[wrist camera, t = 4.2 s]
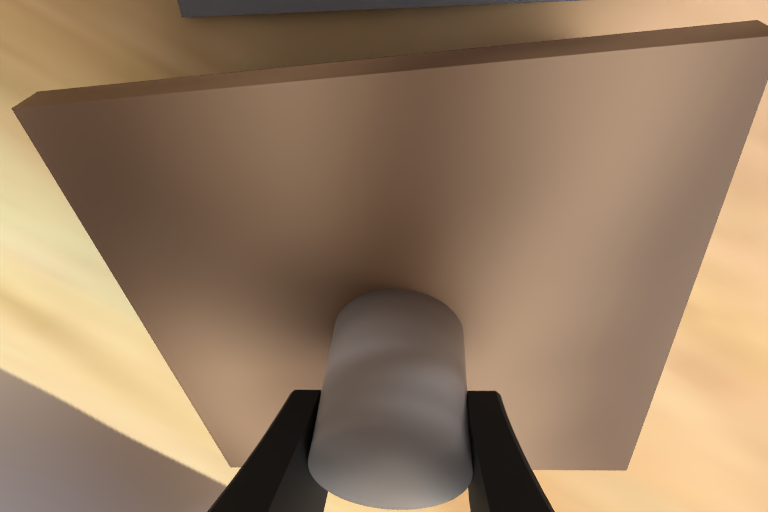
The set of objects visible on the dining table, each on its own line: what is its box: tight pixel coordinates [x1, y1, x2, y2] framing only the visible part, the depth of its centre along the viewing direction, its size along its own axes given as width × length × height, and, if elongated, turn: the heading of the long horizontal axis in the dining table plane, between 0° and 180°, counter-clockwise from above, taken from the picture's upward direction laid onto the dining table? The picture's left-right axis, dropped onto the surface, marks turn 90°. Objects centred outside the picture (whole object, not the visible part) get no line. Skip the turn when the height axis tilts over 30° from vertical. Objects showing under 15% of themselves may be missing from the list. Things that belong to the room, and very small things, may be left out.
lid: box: [12, 20, 768, 510], centre depth 11 cm, size 13×13×4 cm
